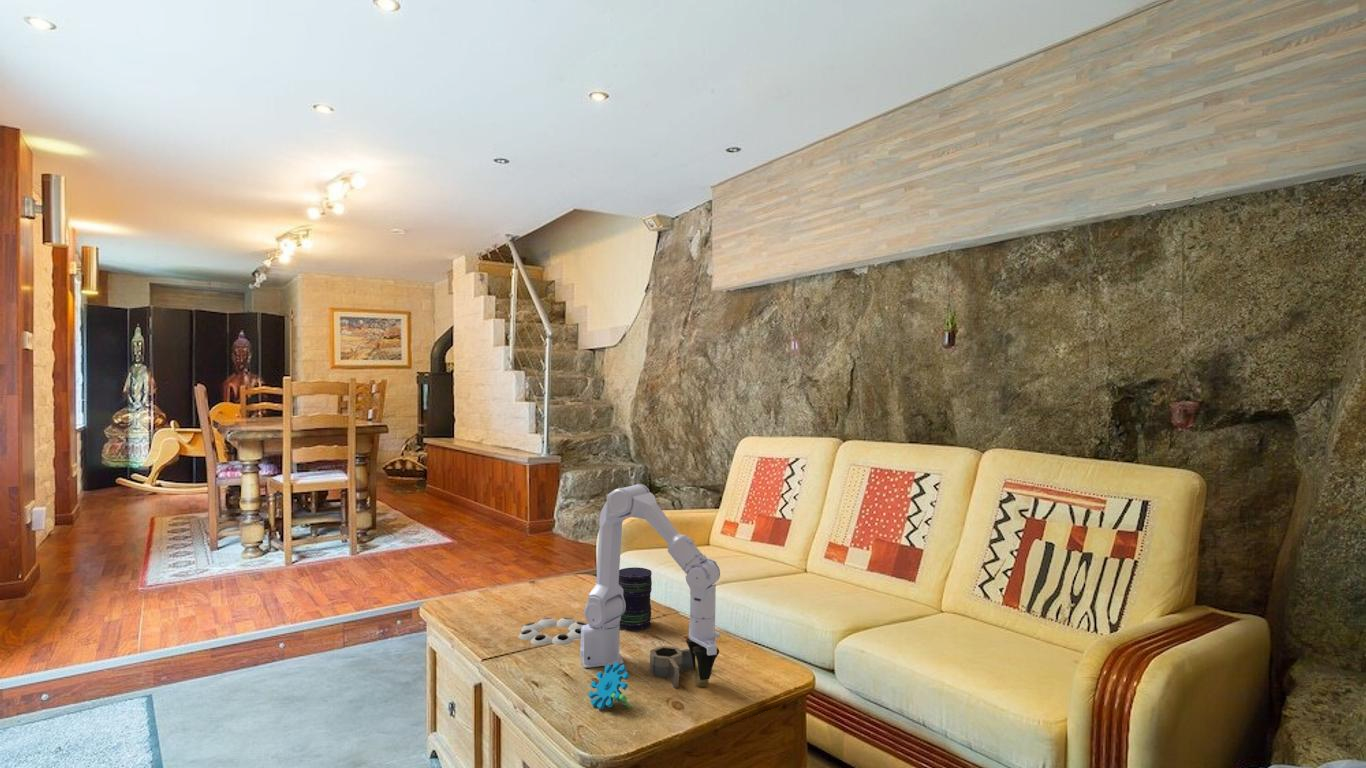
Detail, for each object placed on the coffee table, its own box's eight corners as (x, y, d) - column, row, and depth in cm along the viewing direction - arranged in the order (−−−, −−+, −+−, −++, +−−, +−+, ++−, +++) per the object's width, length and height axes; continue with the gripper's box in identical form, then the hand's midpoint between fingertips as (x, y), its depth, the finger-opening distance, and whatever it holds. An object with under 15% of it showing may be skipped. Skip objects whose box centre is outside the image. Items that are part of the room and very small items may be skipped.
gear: (579, 690, 148) (611, 652, 151) (596, 703, 150) (627, 666, 153) (601, 718, 138) (635, 678, 141) (618, 732, 141) (651, 692, 144)
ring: (600, 640, 182) (600, 633, 182) (527, 652, 173) (527, 644, 173) (578, 617, 199) (578, 610, 199) (510, 627, 191) (510, 620, 191)
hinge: (661, 689, 152) (661, 669, 152) (647, 666, 165) (648, 647, 165) (715, 683, 156) (716, 663, 156) (698, 660, 168) (698, 642, 168)
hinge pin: (695, 688, 152) (696, 652, 152) (690, 681, 156) (691, 646, 156) (712, 686, 154) (713, 651, 154) (707, 679, 157) (707, 644, 157)
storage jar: (618, 618, 197) (619, 566, 197) (652, 619, 197) (653, 567, 197) (613, 631, 188) (614, 576, 188) (649, 632, 187) (650, 577, 187)
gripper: (730, 624, 149) (729, 686, 149) (709, 603, 163) (708, 660, 163) (699, 627, 147) (698, 690, 147) (680, 605, 161) (680, 663, 161)
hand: (701, 675), depth 155 cm, fingers closed on hinge pin, 4 cm apart
